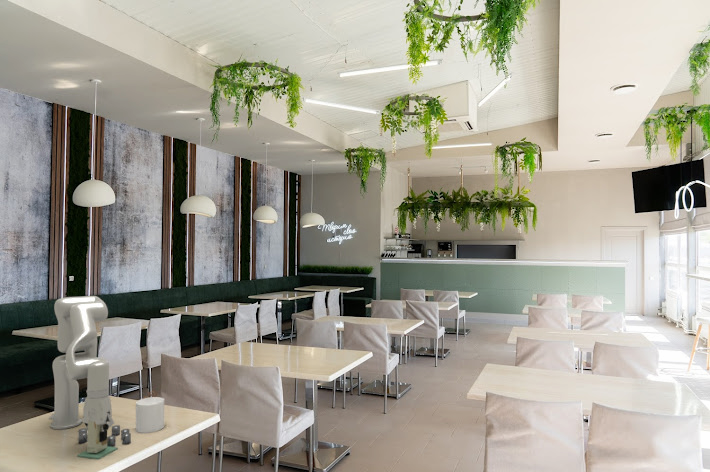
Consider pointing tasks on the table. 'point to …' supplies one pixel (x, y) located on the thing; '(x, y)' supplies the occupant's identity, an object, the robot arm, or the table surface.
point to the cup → (149, 414)
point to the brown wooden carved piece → (150, 395)
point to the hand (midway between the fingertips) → (97, 439)
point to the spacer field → (111, 439)
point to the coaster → (98, 454)
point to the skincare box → (95, 438)
